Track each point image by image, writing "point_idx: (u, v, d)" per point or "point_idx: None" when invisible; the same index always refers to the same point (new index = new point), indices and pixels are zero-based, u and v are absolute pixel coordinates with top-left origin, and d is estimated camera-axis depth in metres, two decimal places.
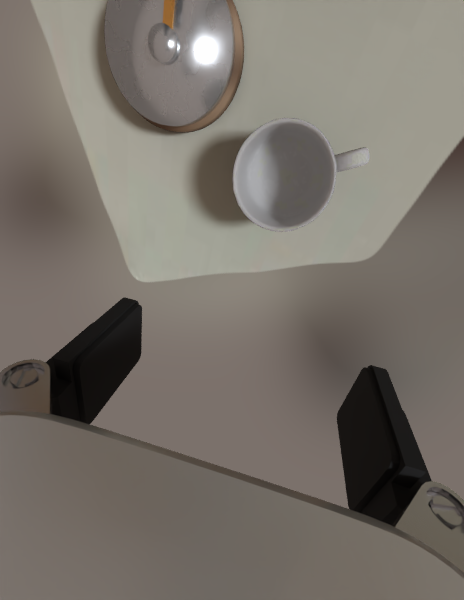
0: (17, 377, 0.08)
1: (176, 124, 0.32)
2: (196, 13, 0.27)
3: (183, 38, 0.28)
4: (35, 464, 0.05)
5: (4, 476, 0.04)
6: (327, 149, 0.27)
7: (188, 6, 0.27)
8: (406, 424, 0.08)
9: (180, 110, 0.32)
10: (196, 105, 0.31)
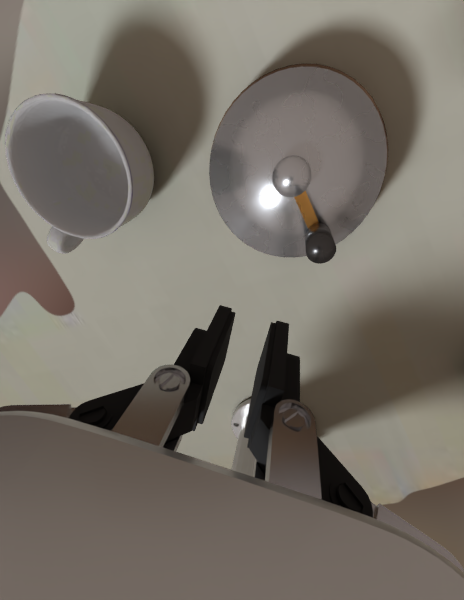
0: (165, 381, 0.08)
1: (232, 106, 0.22)
2: (276, 224, 0.25)
3: (277, 197, 0.24)
4: (35, 464, 0.05)
5: (4, 476, 0.04)
6: (73, 231, 0.26)
7: (287, 223, 0.25)
8: (285, 360, 0.10)
9: (238, 127, 0.22)
10: (225, 150, 0.23)
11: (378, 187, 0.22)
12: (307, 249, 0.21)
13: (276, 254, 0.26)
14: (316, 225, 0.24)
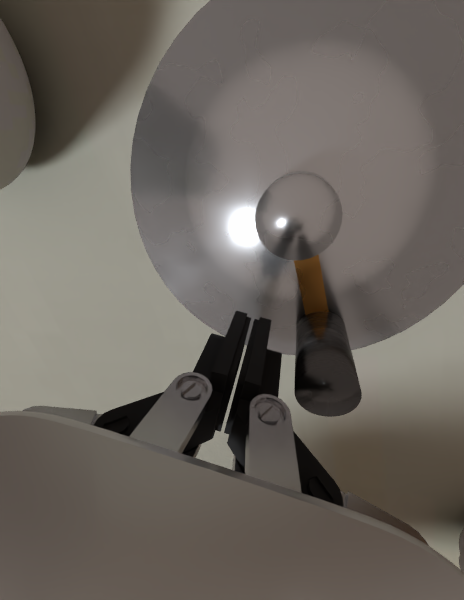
0: (187, 389, 0.08)
1: (195, 20, 0.09)
2: (248, 292, 0.13)
3: (260, 246, 0.12)
4: (35, 464, 0.05)
5: (4, 476, 0.04)
6: None
7: (269, 297, 0.13)
8: (264, 356, 0.10)
9: (201, 78, 0.10)
10: (166, 125, 0.10)
11: (462, 278, 0.11)
12: (299, 386, 0.10)
13: None
14: (323, 319, 0.12)
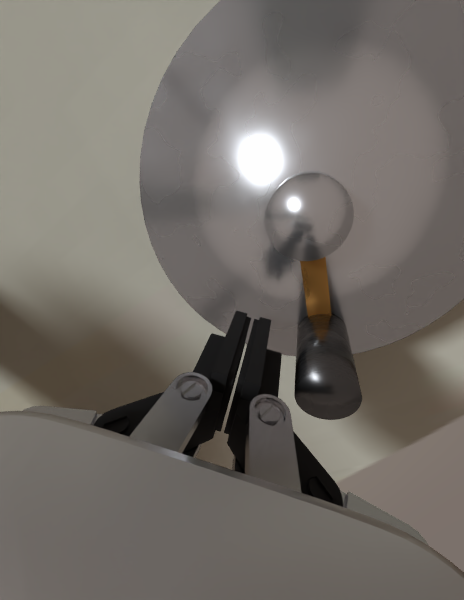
0: (187, 389, 0.08)
1: (217, 9, 0.09)
2: (252, 291, 0.13)
3: (266, 244, 0.12)
4: (35, 464, 0.05)
5: (4, 476, 0.04)
6: None
7: (272, 296, 0.13)
8: (264, 355, 0.10)
9: (219, 70, 0.09)
10: (180, 115, 0.10)
11: None
12: (300, 388, 0.10)
13: None
14: (326, 321, 0.12)
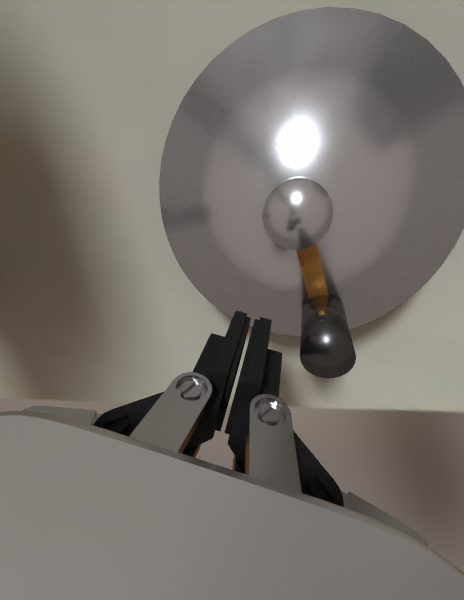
0: (187, 389, 0.08)
1: (210, 66, 0.11)
2: (259, 281, 0.15)
3: (267, 240, 0.14)
4: (35, 464, 0.05)
5: (4, 476, 0.04)
6: None
7: (276, 284, 0.15)
8: (264, 356, 0.10)
9: (216, 109, 0.12)
10: (189, 146, 0.13)
11: (440, 259, 0.13)
12: (304, 352, 0.12)
13: None
14: (324, 300, 0.14)
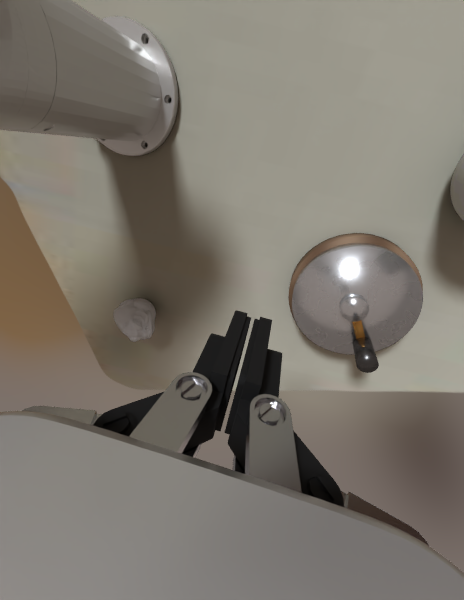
0: (187, 389, 0.08)
1: (322, 257, 0.31)
2: (333, 330, 0.35)
3: (339, 315, 0.34)
4: (35, 464, 0.05)
5: (4, 476, 0.04)
6: None
7: (341, 332, 0.35)
8: (264, 356, 0.10)
9: (323, 269, 0.32)
10: (309, 280, 0.33)
11: (411, 325, 0.32)
12: (358, 362, 0.31)
13: (328, 349, 0.36)
14: (363, 340, 0.33)
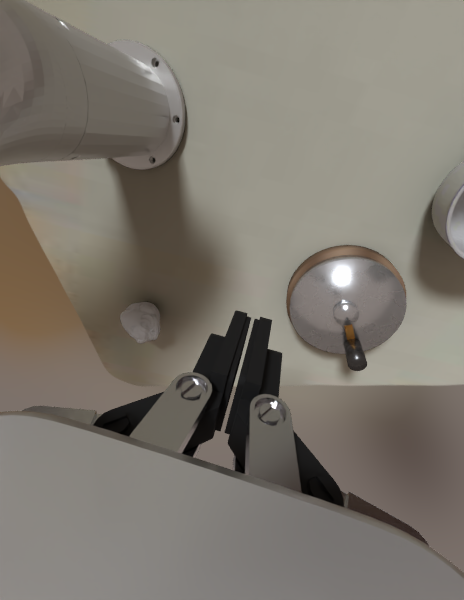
0: (187, 389, 0.08)
1: (318, 268, 0.34)
2: (327, 333, 0.38)
3: (332, 319, 0.37)
4: (35, 464, 0.05)
5: (4, 476, 0.04)
6: None
7: (334, 334, 0.38)
8: (264, 356, 0.10)
9: (318, 279, 0.35)
10: (306, 288, 0.36)
11: (396, 328, 0.36)
12: (349, 362, 0.35)
13: (322, 349, 0.40)
14: (354, 341, 0.37)
